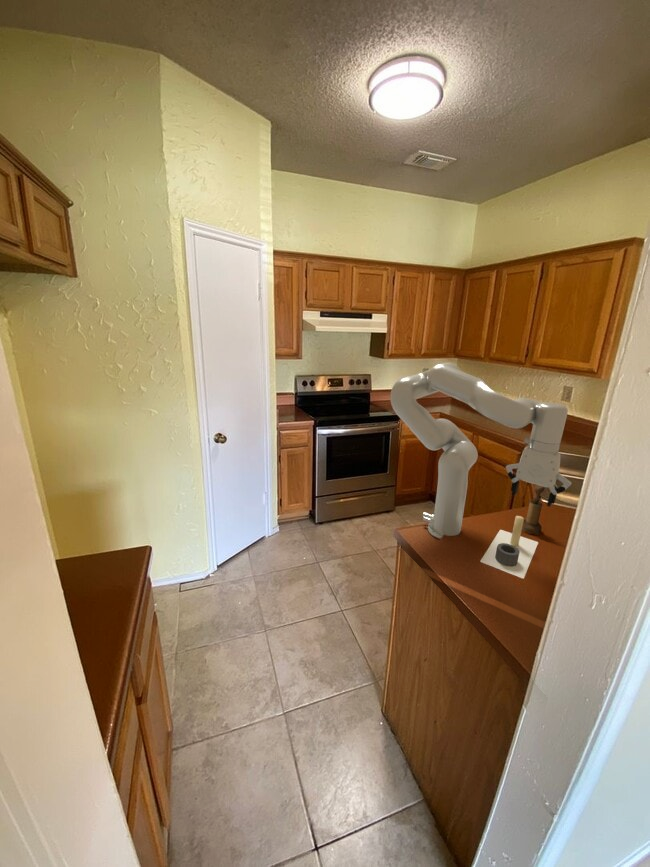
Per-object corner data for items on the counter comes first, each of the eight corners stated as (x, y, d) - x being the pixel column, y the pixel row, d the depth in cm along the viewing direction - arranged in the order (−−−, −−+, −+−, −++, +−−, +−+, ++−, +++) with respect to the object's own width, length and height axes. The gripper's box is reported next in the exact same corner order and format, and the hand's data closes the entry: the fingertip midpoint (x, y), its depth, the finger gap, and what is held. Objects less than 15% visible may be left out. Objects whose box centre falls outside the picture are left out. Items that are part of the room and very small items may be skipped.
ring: (493, 560, 111) (495, 549, 110) (498, 552, 115) (500, 541, 114) (514, 569, 107) (516, 557, 106) (518, 559, 112) (521, 548, 110)
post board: (479, 565, 111) (485, 532, 107) (499, 533, 129) (505, 504, 125) (522, 583, 104) (530, 548, 100) (537, 546, 122) (544, 515, 118)
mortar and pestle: (521, 532, 129) (531, 486, 124) (518, 523, 135) (527, 479, 130) (542, 536, 128) (553, 489, 122) (538, 526, 134) (548, 482, 128)
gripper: (507, 441, 107) (497, 493, 112) (576, 457, 96) (561, 514, 101) (515, 436, 113) (505, 486, 118) (581, 450, 101) (567, 505, 106)
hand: (531, 499), depth 109 cm, fingers open, 9 cm apart
